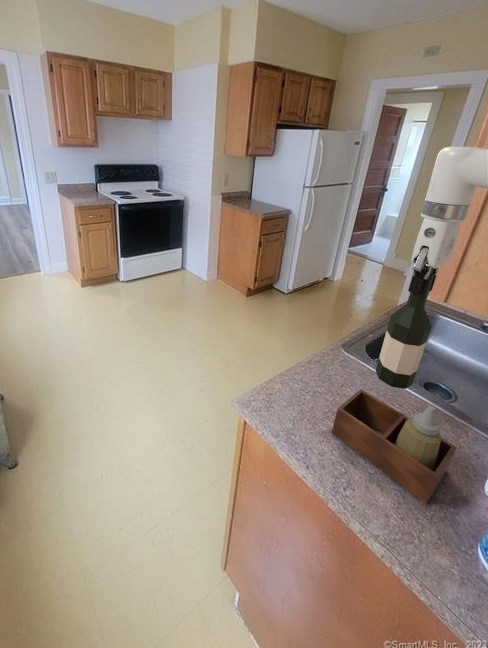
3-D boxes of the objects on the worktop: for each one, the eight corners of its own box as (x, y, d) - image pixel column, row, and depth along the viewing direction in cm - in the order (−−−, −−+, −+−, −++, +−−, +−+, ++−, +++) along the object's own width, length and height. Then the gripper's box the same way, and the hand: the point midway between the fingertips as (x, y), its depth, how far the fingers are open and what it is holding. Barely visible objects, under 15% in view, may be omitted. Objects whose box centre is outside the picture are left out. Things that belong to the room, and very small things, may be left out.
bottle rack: (445, 472, 72) (457, 447, 69) (426, 504, 65) (437, 477, 62) (354, 411, 87) (360, 388, 84) (331, 432, 81) (337, 408, 78)
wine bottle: (420, 387, 79) (459, 275, 67) (390, 390, 77) (425, 277, 66) (396, 365, 86) (427, 261, 75) (368, 368, 85) (396, 262, 74)
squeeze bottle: (438, 486, 69) (466, 424, 62) (400, 485, 69) (424, 423, 62) (415, 452, 76) (438, 393, 70) (381, 451, 76) (401, 392, 70)
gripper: (452, 219, 58) (423, 308, 65) (478, 209, 68) (451, 288, 75) (407, 212, 64) (385, 295, 71) (437, 203, 73) (416, 277, 80)
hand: (419, 290), depth 73 cm, fingers closed on wine bottle, 3 cm apart
